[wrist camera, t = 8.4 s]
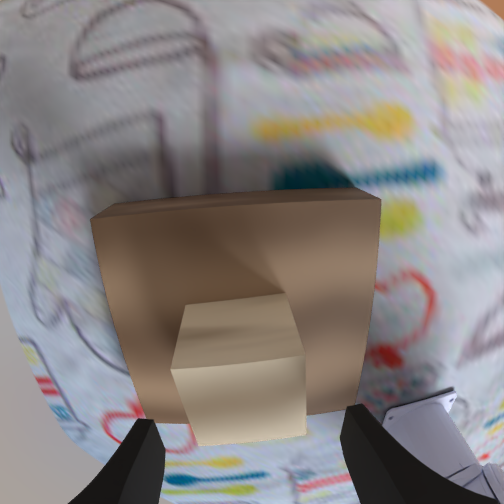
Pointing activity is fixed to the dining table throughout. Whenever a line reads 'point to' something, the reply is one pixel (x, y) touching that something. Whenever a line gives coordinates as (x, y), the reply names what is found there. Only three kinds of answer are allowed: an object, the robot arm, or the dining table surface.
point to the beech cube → (241, 370)
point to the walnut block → (242, 279)
